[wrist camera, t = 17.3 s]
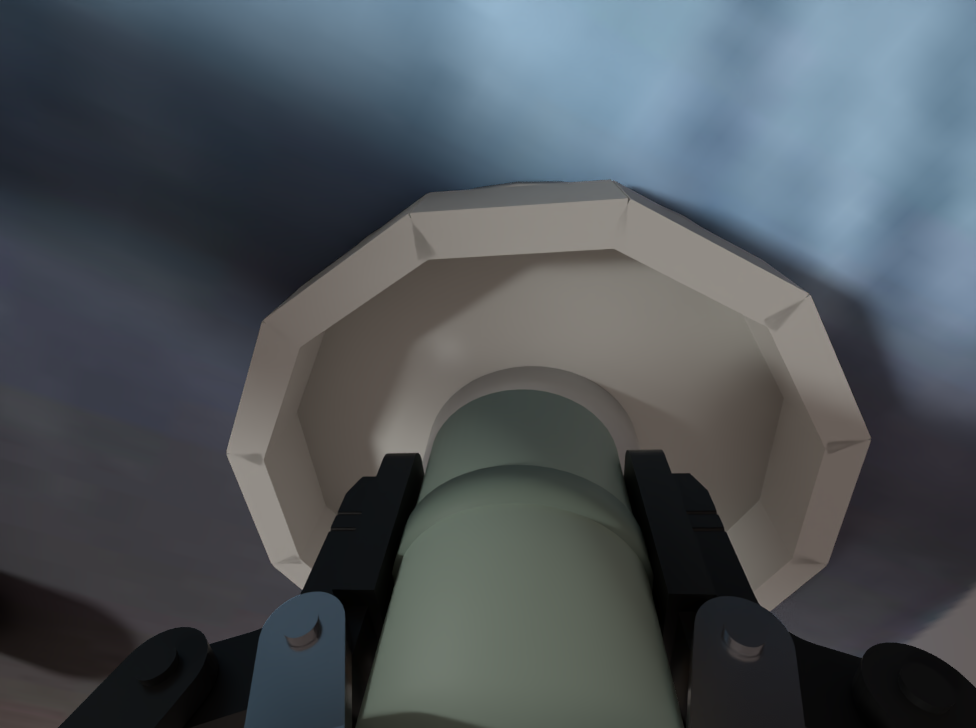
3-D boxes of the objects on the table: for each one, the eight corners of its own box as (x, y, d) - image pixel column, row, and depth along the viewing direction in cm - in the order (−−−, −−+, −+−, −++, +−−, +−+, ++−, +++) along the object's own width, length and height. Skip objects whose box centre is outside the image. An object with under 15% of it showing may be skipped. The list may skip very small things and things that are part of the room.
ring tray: (210, 203, 20) (134, 231, 17) (868, 156, 18) (963, 175, 14) (343, 604, 32) (317, 676, 28) (750, 608, 30) (784, 687, 26)
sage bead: (413, 387, 11) (306, 662, 6) (629, 382, 11) (728, 674, 5) (438, 539, 13) (377, 839, 8) (618, 539, 13) (681, 858, 7)
